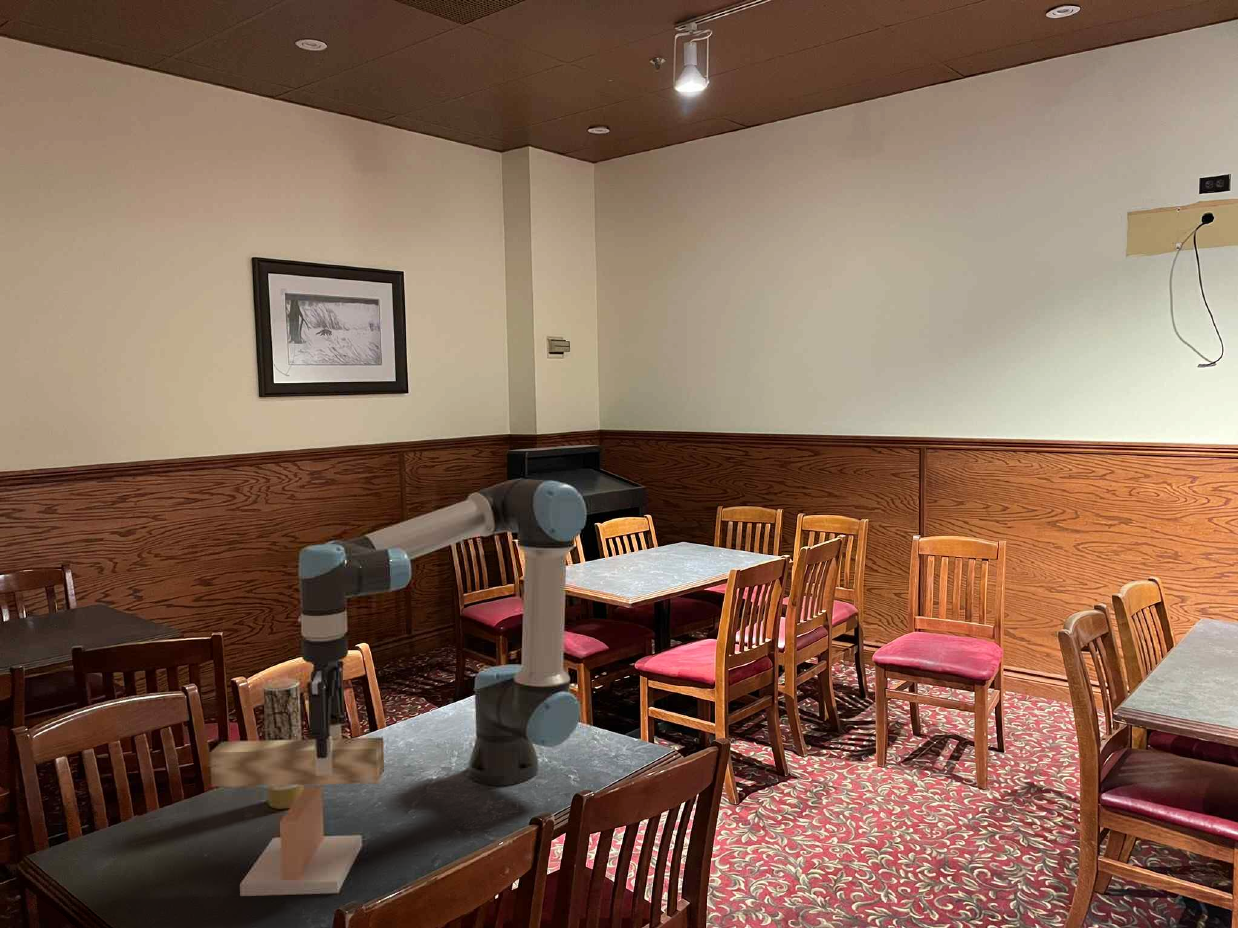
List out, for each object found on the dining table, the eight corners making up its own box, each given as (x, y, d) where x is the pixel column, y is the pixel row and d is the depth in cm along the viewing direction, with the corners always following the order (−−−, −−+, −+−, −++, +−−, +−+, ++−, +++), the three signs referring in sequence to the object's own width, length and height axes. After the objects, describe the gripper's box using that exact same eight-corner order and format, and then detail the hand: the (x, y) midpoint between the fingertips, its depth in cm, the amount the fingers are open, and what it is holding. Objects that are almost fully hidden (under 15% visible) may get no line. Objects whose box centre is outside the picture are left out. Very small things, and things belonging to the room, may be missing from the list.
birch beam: (384, 770, 160) (383, 737, 160) (377, 782, 155) (376, 748, 155) (223, 774, 160) (222, 741, 159) (211, 786, 155) (210, 752, 154)
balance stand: (361, 845, 167) (359, 782, 166) (337, 892, 151) (335, 822, 150) (273, 848, 166) (271, 784, 166) (240, 895, 151) (237, 825, 150)
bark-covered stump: (292, 811, 181) (287, 688, 179) (261, 808, 183) (256, 687, 181) (310, 796, 188) (305, 678, 186) (280, 794, 189) (275, 676, 187)
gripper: (318, 623, 165) (322, 748, 166) (284, 650, 147) (290, 790, 148) (359, 622, 165) (363, 747, 167) (331, 649, 147) (336, 789, 149)
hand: (329, 767), depth 158 cm, fingers closed on birch beam, 5 cm apart
